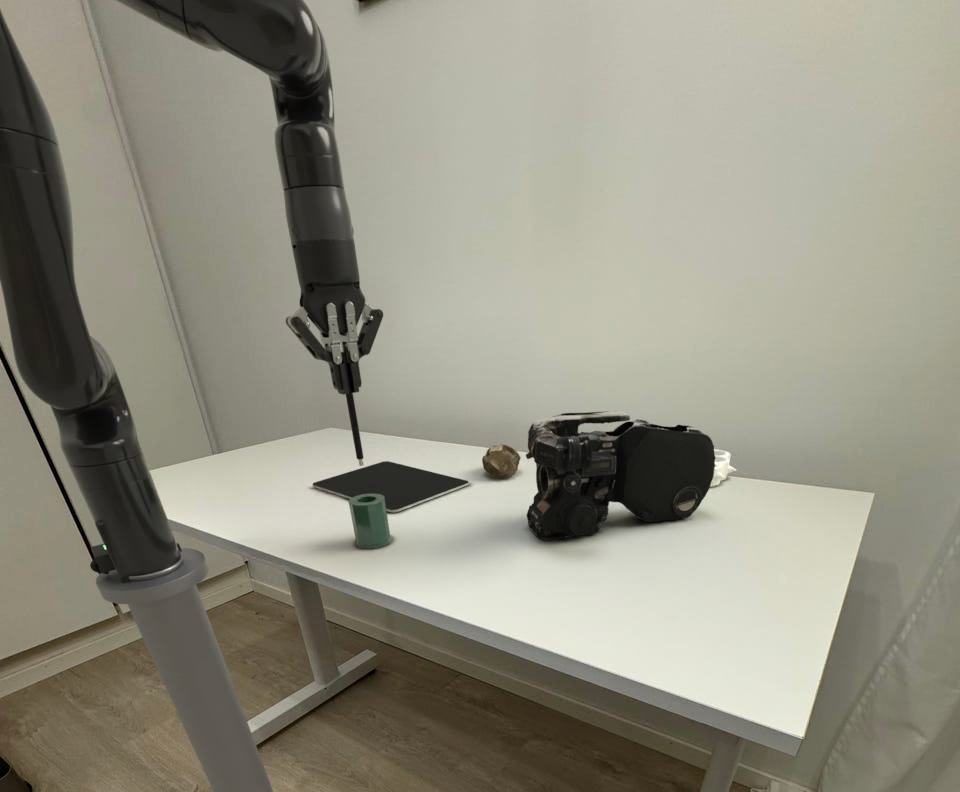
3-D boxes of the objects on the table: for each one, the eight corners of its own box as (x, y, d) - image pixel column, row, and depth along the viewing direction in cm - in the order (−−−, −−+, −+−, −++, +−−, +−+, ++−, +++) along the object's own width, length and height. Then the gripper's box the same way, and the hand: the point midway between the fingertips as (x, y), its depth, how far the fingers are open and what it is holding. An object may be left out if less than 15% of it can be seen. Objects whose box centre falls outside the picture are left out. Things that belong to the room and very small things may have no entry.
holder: (366, 552, 85) (358, 508, 81) (350, 541, 89) (342, 499, 85) (397, 542, 88) (390, 499, 84) (380, 532, 91) (374, 491, 88)
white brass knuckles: (673, 461, 117) (745, 470, 108) (634, 484, 105) (711, 497, 97) (676, 444, 115) (749, 453, 107) (636, 466, 104) (715, 477, 95)
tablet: (309, 483, 114) (385, 460, 126) (310, 486, 114) (386, 463, 126) (393, 510, 98) (471, 481, 110) (393, 514, 98) (471, 485, 110)
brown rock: (488, 454, 120) (470, 475, 113) (501, 428, 115) (482, 449, 108) (518, 473, 120) (501, 495, 113) (531, 448, 115) (515, 470, 108)
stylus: (359, 466, 81) (340, 352, 73) (356, 465, 82) (337, 352, 74) (365, 465, 82) (347, 351, 74) (362, 464, 82) (343, 351, 74)
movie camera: (533, 557, 78) (537, 426, 69) (506, 519, 93) (506, 408, 85) (735, 540, 82) (762, 414, 74) (677, 506, 98) (694, 399, 89)
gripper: (359, 240, 73) (379, 383, 82) (257, 242, 66) (291, 397, 76) (386, 234, 68) (404, 388, 77) (279, 236, 61) (313, 403, 71)
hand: (348, 392), depth 76 cm, fingers closed on stylus, 1 cm apart
